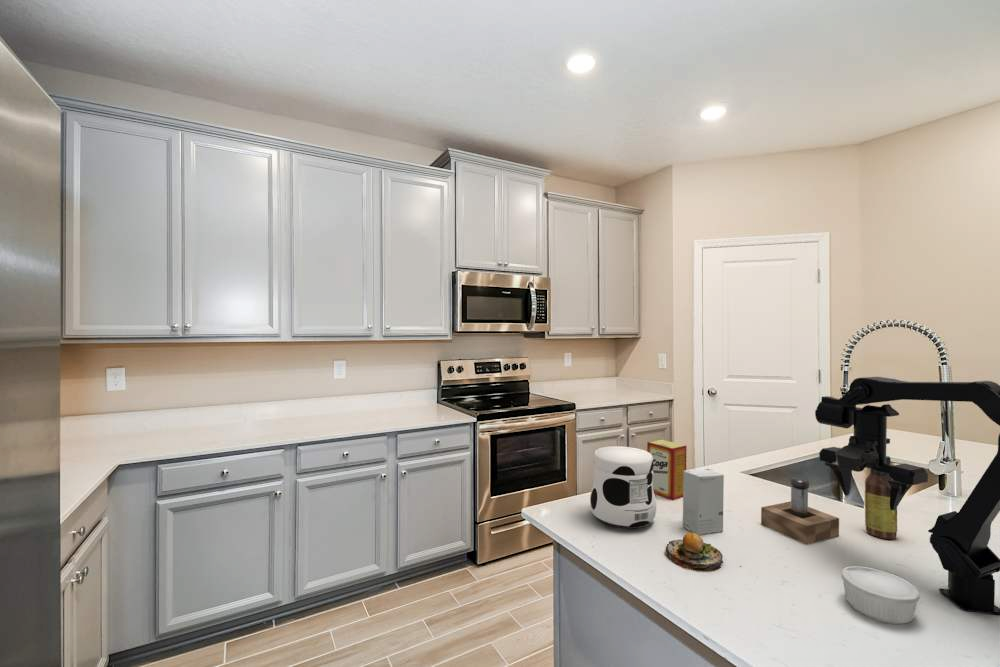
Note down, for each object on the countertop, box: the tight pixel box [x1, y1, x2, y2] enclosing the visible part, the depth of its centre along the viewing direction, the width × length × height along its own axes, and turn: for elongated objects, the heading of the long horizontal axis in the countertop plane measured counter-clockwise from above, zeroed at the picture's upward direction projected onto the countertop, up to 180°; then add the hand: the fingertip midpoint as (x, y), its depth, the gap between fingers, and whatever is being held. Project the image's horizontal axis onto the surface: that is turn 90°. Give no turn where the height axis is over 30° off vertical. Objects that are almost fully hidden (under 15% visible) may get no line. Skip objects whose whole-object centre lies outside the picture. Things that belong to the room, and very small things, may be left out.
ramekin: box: [840, 565, 920, 625], centre depth 84 cm, size 11×11×5 cm
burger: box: [665, 531, 724, 573], centre depth 103 cm, size 12×12×8 cm
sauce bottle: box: [864, 455, 898, 540], centre depth 114 cm, size 7×6×20 cm
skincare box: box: [682, 468, 725, 536], centre depth 117 cm, size 8×6×15 cm
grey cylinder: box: [789, 476, 810, 519], centre depth 116 cm, size 4×4×13 cm
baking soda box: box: [646, 439, 687, 501], centre depth 142 cm, size 10×6×16 cm
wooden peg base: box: [760, 500, 840, 546], centre depth 116 cm, size 12×12×4 cm
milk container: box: [589, 445, 657, 529], centre depth 122 cm, size 17×17×18 cm
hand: (868, 502), depth 101 cm, fingers open, 9 cm apart
